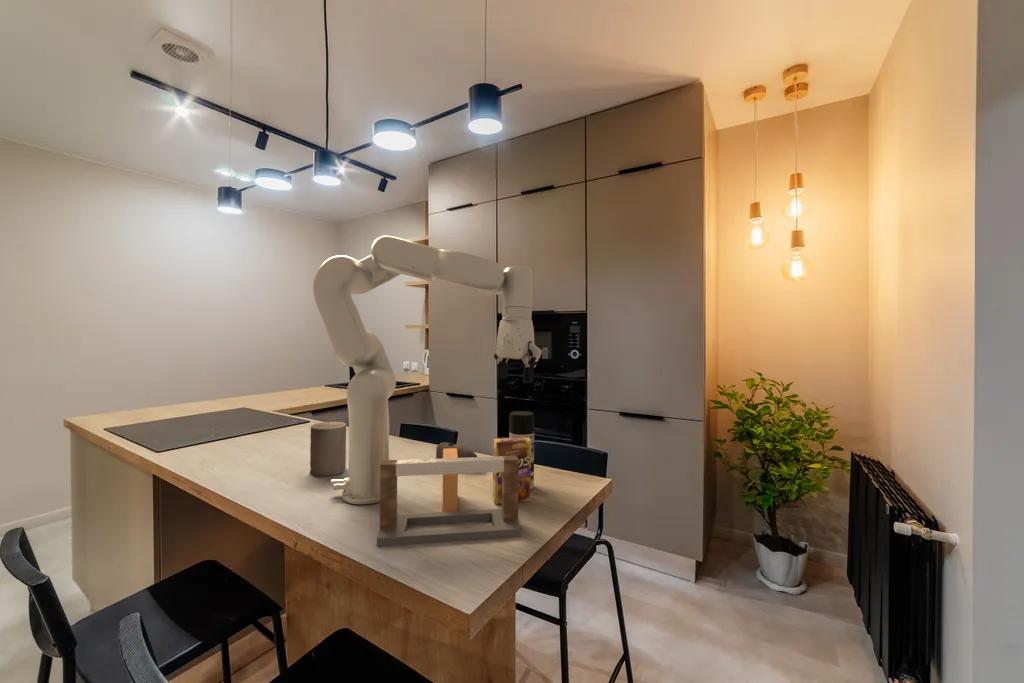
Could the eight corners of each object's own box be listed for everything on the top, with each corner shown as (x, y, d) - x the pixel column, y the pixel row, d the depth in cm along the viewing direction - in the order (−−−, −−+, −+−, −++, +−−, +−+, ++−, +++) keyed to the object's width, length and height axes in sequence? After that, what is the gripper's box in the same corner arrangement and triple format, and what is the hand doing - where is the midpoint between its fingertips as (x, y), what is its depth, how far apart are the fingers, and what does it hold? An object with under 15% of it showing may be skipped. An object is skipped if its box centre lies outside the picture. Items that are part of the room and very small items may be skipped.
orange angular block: (457, 511, 93) (457, 459, 93) (442, 512, 93) (442, 460, 92) (456, 495, 103) (456, 448, 102) (442, 496, 102) (443, 448, 102)
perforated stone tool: (483, 470, 123) (483, 447, 122) (473, 475, 118) (473, 451, 118) (445, 461, 130) (445, 440, 130) (434, 466, 126) (434, 443, 126)
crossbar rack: (376, 546, 78) (377, 470, 77) (384, 522, 87) (384, 455, 87) (520, 536, 82) (521, 464, 82) (512, 514, 92) (513, 450, 92)
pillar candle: (302, 474, 117) (302, 422, 116) (328, 464, 126) (328, 416, 126) (328, 478, 113) (328, 425, 113) (353, 468, 122) (353, 418, 122)
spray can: (531, 493, 105) (532, 415, 104) (506, 490, 106) (507, 414, 106) (535, 484, 111) (536, 411, 111) (511, 482, 112) (512, 410, 112)
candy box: (495, 505, 97) (495, 441, 97) (491, 498, 101) (492, 437, 101) (530, 502, 99) (531, 440, 99) (526, 495, 103) (527, 435, 103)
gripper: (484, 314, 109) (482, 378, 109) (530, 313, 96) (528, 385, 96) (505, 316, 114) (503, 377, 114) (551, 315, 101) (549, 383, 101)
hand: (514, 381), depth 105 cm, fingers open, 9 cm apart
